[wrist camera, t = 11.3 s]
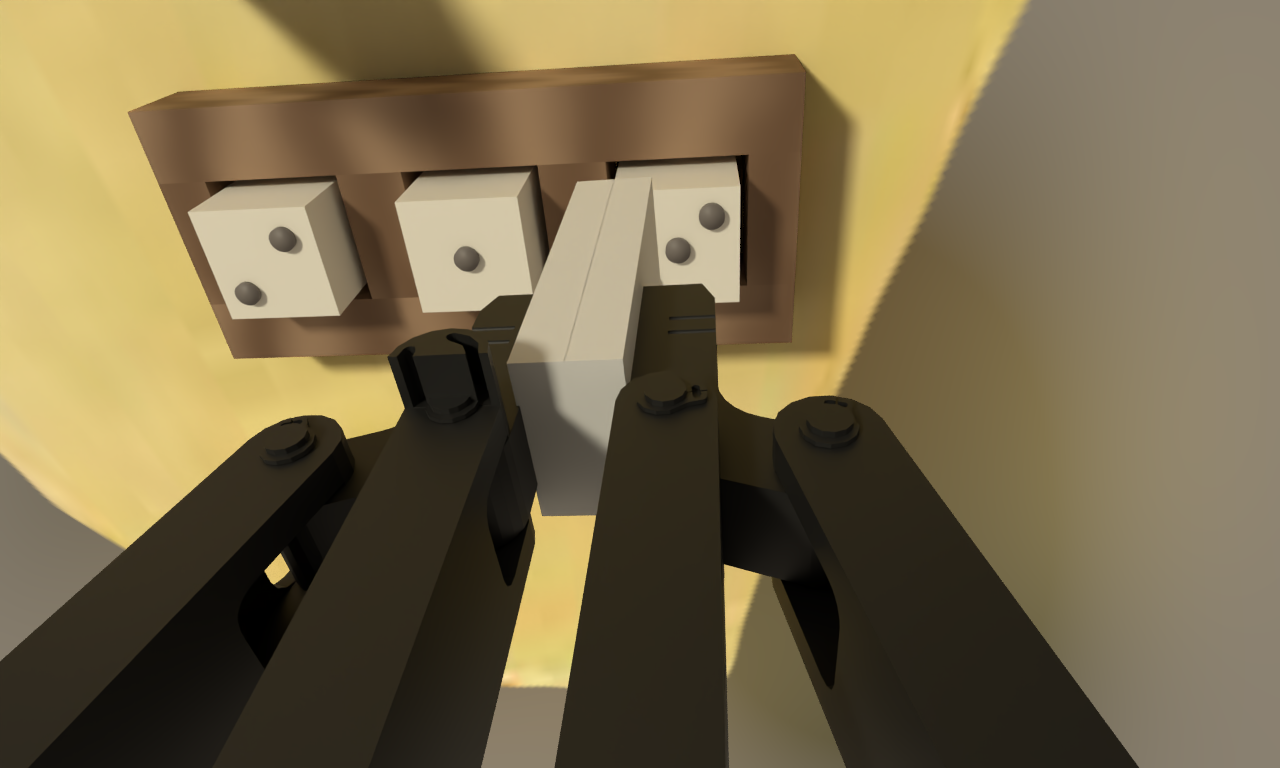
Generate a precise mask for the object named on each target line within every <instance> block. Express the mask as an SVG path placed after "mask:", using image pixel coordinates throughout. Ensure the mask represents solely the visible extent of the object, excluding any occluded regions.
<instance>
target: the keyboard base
mask: <svg viewBox="0 0 1280 768" xmlns="http://www.w3.org/2000/svg"><path fill="white" fill-rule="evenodd" d="M805 80H806V71H805V70H804V68H803V67H802V65H801V64H800V62H799V60H798V59H797V57H796V56H795V54H791V55H775V56H758V57H742V58H725V59H709V60H693V61H676V62H660V63H644V64H627V65H611V66H594V67H578V68H562V69H545V70H529V71H512V72H496V73H480V74H463V75H447V76H431V77H414V78H398V79H381V80H365V81H349V82H332V83H316V84H300V85H283V86H267V87H250V88H234V89H218V90H201V91H185V92H177V93H174V94H172V95H169V96H167V97H164V98H162V99H159V100H157V101H154V102H152V103H149V104H147V105H144V106H142V107H139V108H137V109H134V110H132V111H129V112H128V114H129V117H130V119H131V121H132V124H133V126H134V128H135V131H136V133H137V135H138V137H139V140H140V142H141V144H142V147H143V149H144V151H145V154H146V156H147V158H148V161H149V163H150V165H151V168H152V170H153V172H154V175H155V177H156V179H157V181H158V184H159V186H160V188H161V191H162V193H163V195H164V198H165V200H166V202H167V205H168V207H169V209H170V212H171V214H172V216H173V219H174V221H175V223H176V225H177V228H178V230H179V232H180V235H181V237H182V239H183V242H184V244H185V246H186V249H187V251H188V253H189V256H190V258H191V260H192V263H193V265H194V267H195V269H196V272H197V274H198V276H199V279H200V281H201V283H202V286H203V288H204V290H205V293H206V295H207V297H208V300H209V302H210V304H211V307H212V309H213V311H214V313H215V316H216V318H217V320H218V323H219V325H220V327H221V330H222V332H223V334H224V337H225V339H226V341H227V344H228V346H229V348H230V351H231V353H232V355H233V357H234V359H240V358H274V357H308V356H342V355H376V354H391V353H392V352H393V351H394V350H395V349H396V348H397V347H398V346H399V345H401V344H403V343H404V342H406V341H408V340H410V339H411V338H413V337H416V336H419V335H422V334H425V333H428V332H431V331H436V330H442V329H449V328H456V329H469V330H472V326H473V324H474V322H475V320H476V318H477V316H478V314H479V312H480V311H457V312H428V313H423V311H422V307H421V303H420V299H419V296H418V292H417V288H416V284H415V280H414V276H413V272H412V268H411V264H410V261H409V257H408V253H407V249H406V245H405V241H404V237H403V233H402V229H401V226H400V222H399V218H398V214H397V210H396V206H395V201H396V200H397V199H398V198H399V197H400V196H401V195H402V194H403V193H404V192H405V191H406V190H407V189H408V188H409V186H410V185H411V184H412V183H413V182H414V181H415V180H416V179H417V178H418V177H419V176H420V175H421V174H422V173H423V172H424V171H432V170H452V169H471V168H491V167H511V166H531V165H537V166H538V173H539V180H540V187H541V194H542V201H543V208H544V215H545V222H546V228H547V235H548V242H549V249H550V250H551V248H552V245H553V243H554V240H555V238H556V235H557V232H558V230H559V227H560V225H561V222H562V220H563V217H564V214H565V212H566V209H567V207H568V204H569V201H570V199H571V196H572V194H573V191H574V189H575V186H576V183H577V182H580V181H595V180H610V179H615V177H616V167H615V161H631V160H651V159H671V158H690V157H710V156H730V155H743V233H742V252H740V294H739V302H722V303H715V315H716V341H717V345H718V344H752V343H786V342H792V326H793V307H794V288H795V270H796V251H797V232H798V213H799V194H800V175H801V156H802V137H803V118H804V99H805ZM332 175H336V178H337V182H338V185H339V189H340V192H341V195H342V199H343V202H344V205H345V209H346V212H347V216H348V219H349V222H350V226H351V229H352V232H353V236H354V239H355V243H356V246H357V249H358V253H359V256H360V260H361V263H362V266H363V270H364V273H365V276H366V280H367V283H366V284H365V286H364V287H363V288H362V289H361V290H360V292H359V293H358V294H357V295H356V297H355V298H354V299H353V300H352V301H351V303H350V304H349V305H348V306H347V308H346V309H345V310H344V311H343V312H342V314H341V315H340V316H314V317H284V318H255V319H232V317H231V315H230V312H229V310H228V307H227V305H226V303H225V300H224V298H223V295H222V293H221V291H220V288H219V286H218V284H217V281H216V279H215V276H214V274H213V272H212V269H211V267H210V264H209V262H208V260H207V257H206V255H205V252H204V250H203V248H202V245H201V243H200V241H199V238H198V236H197V233H196V231H195V229H194V226H193V224H192V221H191V219H190V217H189V214H188V212H189V211H190V210H192V209H193V208H195V207H196V206H198V205H200V204H201V203H203V202H204V201H206V200H207V199H209V198H210V197H212V196H213V195H215V194H217V193H218V192H220V191H221V190H223V189H224V188H226V187H227V186H229V185H231V184H232V183H234V182H235V181H237V180H252V179H272V178H292V177H312V176H332Z"/></svg>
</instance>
